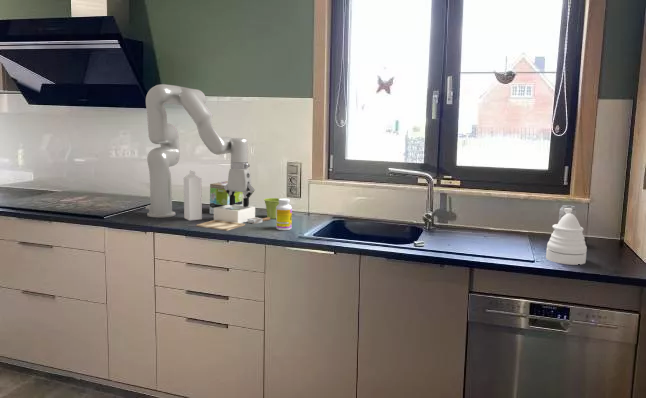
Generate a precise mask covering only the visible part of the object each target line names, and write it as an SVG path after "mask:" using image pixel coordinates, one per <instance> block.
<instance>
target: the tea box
mask: <svg viewBox="0 0 646 398" xmlns="http://www.w3.org/2000/svg"><path fill="white" fill-rule="evenodd" d="M227 184H228V180H224V181H220V182H219V181H218V182H214V183H209V214H210V215H211V214H213V215H214V208H216V207H221V206H225V205H230V196H228V193H227V192H226V190H225V189H224V186H225V185H227ZM234 196H235V205H243V196H244V195H243V192H237V191H235V194H234Z"/></svg>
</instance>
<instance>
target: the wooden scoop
mask: <svg viewBox="0 0 646 398" xmlns="http://www.w3.org/2000/svg"><path fill="white" fill-rule="evenodd" d="M266 221H271V219H270V217H256V216H255V218H249V219H247V221H246V222H247V223H249V224H253V225H255V224H261V223H263V222H266Z"/></svg>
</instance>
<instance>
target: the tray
mask: <svg viewBox="0 0 646 398" xmlns="http://www.w3.org/2000/svg"><path fill="white" fill-rule="evenodd" d="M243 226H246V223H244V222H243V223H235V222H228V221H221V220H214V219H213V220H210V221H206V222H201V223H197V224H196V225H195V227H198V228H206V229H213V230H218V231H219V230H220V231H231V230H234V229H237V228H242V227H243Z"/></svg>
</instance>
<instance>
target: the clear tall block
mask: <svg viewBox="0 0 646 398" xmlns="http://www.w3.org/2000/svg"><path fill="white" fill-rule="evenodd" d="M564 208H571V209H572V212H571V214H573V215H574V216H575V217H576V218H577V216H576V215H577V209H576V206H575V205H569V204H562V205H561V207H560V208H559V212H558V213H559V214H558V222H559V221H560V219H561V218H562V217H563V216H564V215H566V213H565V211H564Z"/></svg>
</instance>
